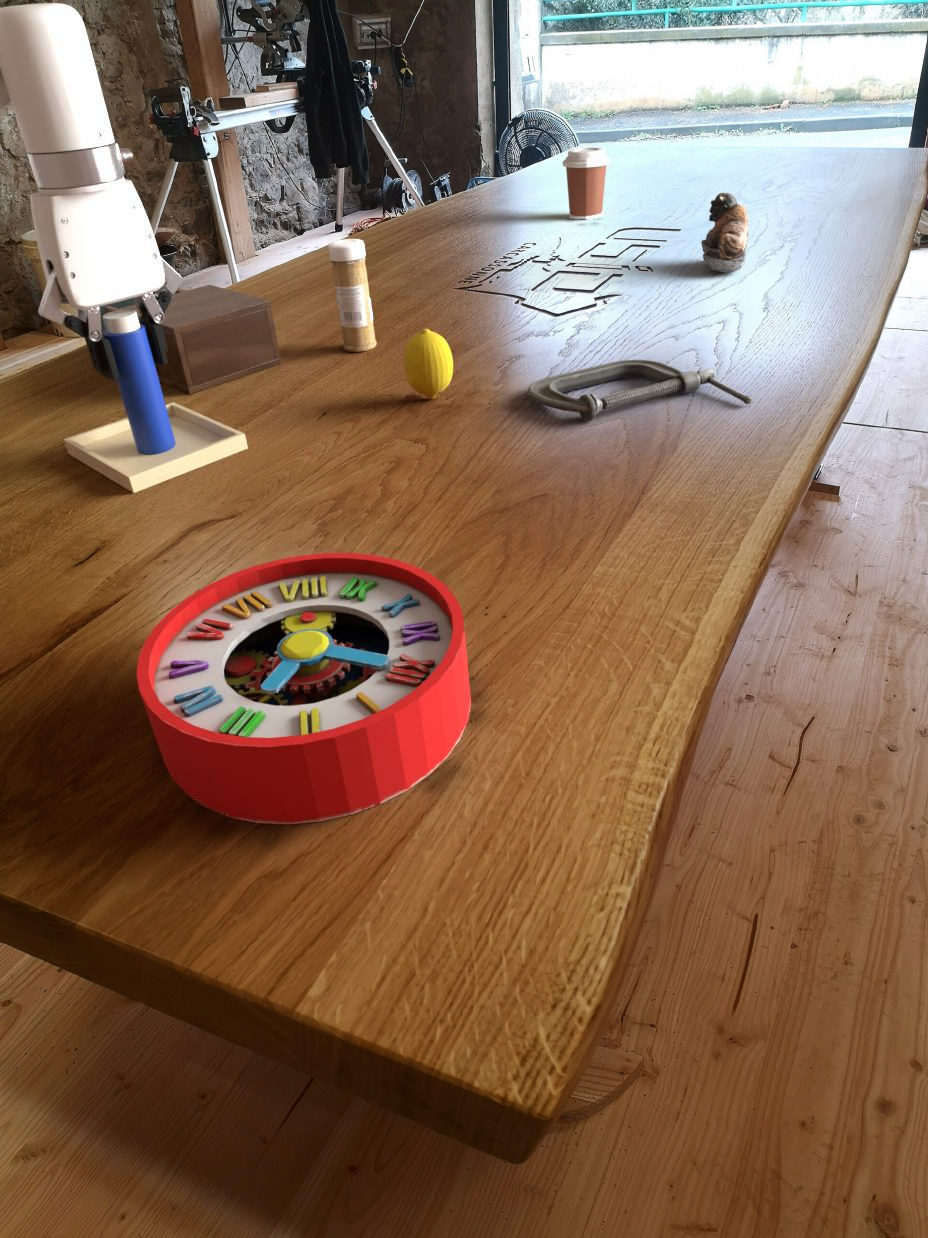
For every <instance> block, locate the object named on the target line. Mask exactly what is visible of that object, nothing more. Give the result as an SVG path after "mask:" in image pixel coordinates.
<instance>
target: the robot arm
mask: <svg viewBox="0 0 928 1238" xmlns="http://www.w3.org/2000/svg"><path fill="white" fill-rule="evenodd" d="M79 13H80V12H78V11H77V10H76V9H75V8H74V7H72V6H71V5H69V4H66V3H61V2H47V3H45V2H44V3H30V4H29V3H28V4H19V5H8V6H4V7H3V6H2V7H0V110H2V109H3V110H4V109H8V108H12V109H13V113H14V116H15V119H16V122H17V126H18V129H19V133H20V136H21V139H22V141H23V146H24V148H25V151H26V156H27V158H28V162H29V164H30V167H31V171H32V174H33V178H34V181H35V184H36V187H37V190H38V191H37V192H36V191H35V192H32V193H30V194H29V200H30V201H29V203H30V209H31V217H32V223H33V228H34V235H35V240H36V244H37V248H38V254H39V257H40V261H41V266H42V270H43V274H44V277H45V278H44V279H45V280H46V285H45V288H44V291H43V294H42V298H41V301H40V303H39V307H38V309H37V310H38V311H37V312H38V315H39V316H40V317H41V318H43V319H47V320H49V321H51V322H54V323H57V324H59V325H60V326H64V327H65V328H66V329H68V330H69V331H72V332H74V333H75V334H77V335H79V336H80V337H82V338H84V340H85V343H86V347H87V350H88V354H89V356H90V360H91V363H92V366H93V369H94V370H95V371H96V372H97V373H99V374H100V376H102V377H104V378H106V379H108V380H111V381H113V382H114V381H117V379H118V378H119V377H120V375H119V372H118V368H117V365H116V362H115V358H114V355H113V351H112V348H111V345H110V342H109V340H108V339H105V338H104V337H103V334H102V331H101V314H100V306H104V305H108V304H112V303H116V302H120V301H123V300H127V299H131V298H132V300H133V301H134V303H135V305H136V307H137V309H138V311H139V313H140V315H141V321H139V324H142V325H144V327H145V330H146V334H147V338H148V341H149V345H150V349H151V353H152V356H153V360H154V362H155V363H158V364H161V365H165V364H168V360H167V357H166V352H168V348H167V344H166V340H165V337H164V333H163V329H162V325H161V323H162V322H163V321H164V319H165V316H164V314H165V312H166V310H167V308H168V306H169V304H170V302H171V298H172V296H173V295H174V294H175V293H176V291H177V290H178V288H179V289H180V287H181V286H182V284H183V280H184V279H183V277H182V275H181V274H179V273H178V272H177V271H176V270H175V269H174V268H173V267H172V266H171V265H170V264H169V263H168V262H167V261H165V259H164V258H163V257H162V256H161V254H160V250H159V247H158V244H157V240H156V238H155V235H154V232H153V228H152V226H151V223H150V220H149V218H148V214H147V212H146V210H145V208H144V205H143V202H142V201H141V198H140V196H139V194H138V192H137V190H136V188H135V186H134V184H133V181H132V180H130V179H126V178H125V176H124V175H126V171H125V167H127V165H130V164H133V163H134V156H133V153H132V151H131V149H130V148H129V147H124V148H122V147H120V146H119V144H118V143H117V142H116V141H115V138H114V133H113V129H112V126H111V122H110V118H109V113H108V110H107V105H106V102H105V99H104V94H103V90H102V87H101V83H100V79H99V75H98V71H97V68H96V63H95V60H94V56H93V52H92V49H91V45H90V40H89V36H88V32H87V29H86V26H85V23H84V20H83V18H82V17H81V15H80V14H79ZM61 304H62V305H63V304H64V305H70V306H71V308H74V309H75V315H73V314H70V313H68V312H66V311H64V310H63V309H62V308H61Z"/></svg>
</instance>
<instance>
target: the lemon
mask: <svg viewBox="0 0 928 1238" xmlns="http://www.w3.org/2000/svg"><path fill="white" fill-rule="evenodd" d="M404 349H405V350H404V355H403V369H404V370H403V371H404V374H405V378H406V380H407V382H408V384H409V386H410V387H411V388H412V389H413V390H414V391H415V392H416V393H418V394H421V395H424V396H425V397H427V398H428V399H429V400H434V399H436V397H437V396H438V394H440V393H442V392H443V391H445V390H446V388H447V387H448V386H449V385H450V383H451V381H452V379H453V373H454V358H453V354H452V350H451V347H450V346H449V343H448V342H447V340H446V339H445V338H444V337H443V336H442V335H440V334H439V333H437V332H435V331H431V330H430V329H429V328H422V329H421V331H419V332H417V333H416V334H415V335H413V336H412V337H411V338H410V339H409V341H408V342H407V344H406V346H405V348H404Z"/></svg>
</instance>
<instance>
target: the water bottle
mask: <svg viewBox="0 0 928 1238" xmlns="http://www.w3.org/2000/svg"><path fill="white" fill-rule="evenodd" d="M103 321H104V324H105V328H106V330H105V331H103V336H104V338H105V339H108V340H109V342H110V345H111V348H112V351H113V355H114V358H115V362H116V365H117V368H118V372H119V375H120V377H119V378H118V379H117V380H116V384H117V386H118V390H119V393H120V397H121V400H122V404H123V407H124V410H125V414H126V416H127V417H126V418H128V421H129V424H130V427H131V431H132V434H133V437H134V441H135V444H136V448H137V451H138V452H139V453H141V454H145V455H153V454H159V453H163V452H166V451H168V450H170V449H172V448H173V447H174V446H175V445H176V442H175V438H174V435H173V431H172V427H171V424H170V420H169V416H168V412H167V409H166V402H165V397H164V395H163V391H162V387H161V384H160V383H161V382H159V379H158V375H157V371H156V368H155V364H154V360H153V356H152V353H151V349H150V345H149V341H148V338H147V334H146V330H145V327H144V325H142V324H139V320H138V317H137V313H136V311H135V310H131V309H124V310H116V311H112V312H109V313H106V314H104V315H103Z"/></svg>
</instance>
